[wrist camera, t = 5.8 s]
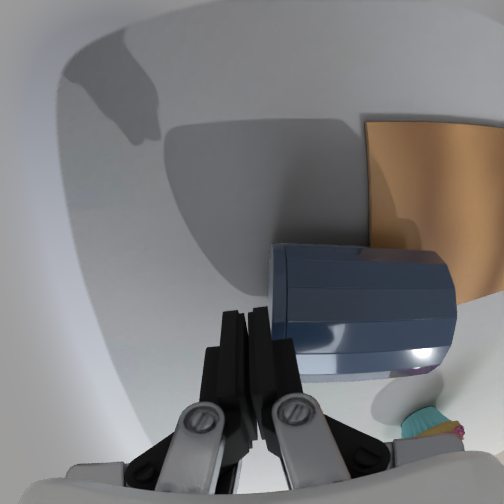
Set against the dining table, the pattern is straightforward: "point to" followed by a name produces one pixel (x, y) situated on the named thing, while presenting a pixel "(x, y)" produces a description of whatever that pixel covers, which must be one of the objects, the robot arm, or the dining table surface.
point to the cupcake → (430, 424)
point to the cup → (361, 310)
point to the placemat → (440, 197)
